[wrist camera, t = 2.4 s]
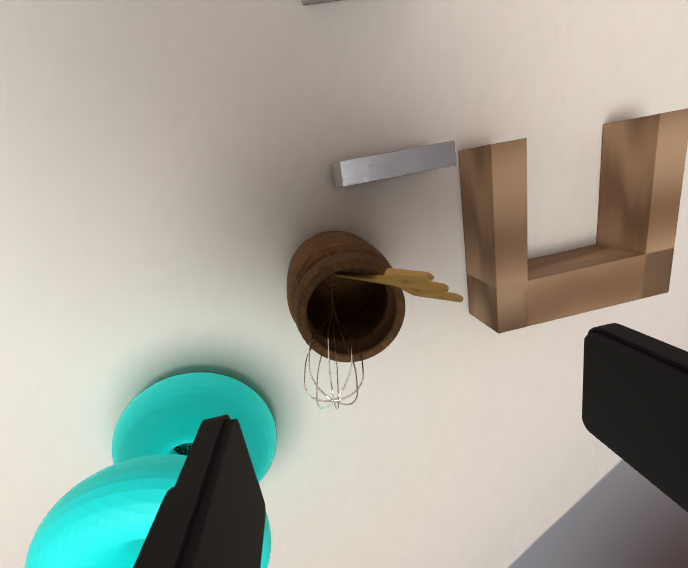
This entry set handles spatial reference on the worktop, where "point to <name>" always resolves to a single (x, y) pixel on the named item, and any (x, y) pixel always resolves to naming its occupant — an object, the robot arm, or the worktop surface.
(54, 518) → the donuts
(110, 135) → the worktop surface
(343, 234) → the utensil holder
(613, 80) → the worktop surface
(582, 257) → the frame
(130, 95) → the worktop surface
